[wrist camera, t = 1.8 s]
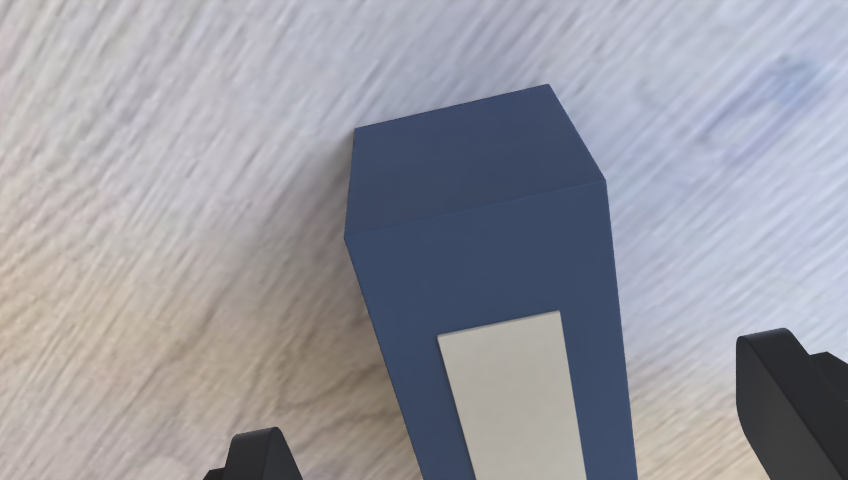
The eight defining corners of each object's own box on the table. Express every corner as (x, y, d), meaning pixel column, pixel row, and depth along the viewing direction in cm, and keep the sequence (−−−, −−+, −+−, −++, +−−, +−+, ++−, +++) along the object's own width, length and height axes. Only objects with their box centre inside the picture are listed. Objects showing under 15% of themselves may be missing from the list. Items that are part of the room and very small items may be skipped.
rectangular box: (354, 127, 20) (343, 239, 15) (549, 83, 20) (607, 181, 15) (454, 467, 27) (470, 624, 22) (599, 439, 27) (651, 592, 22)
